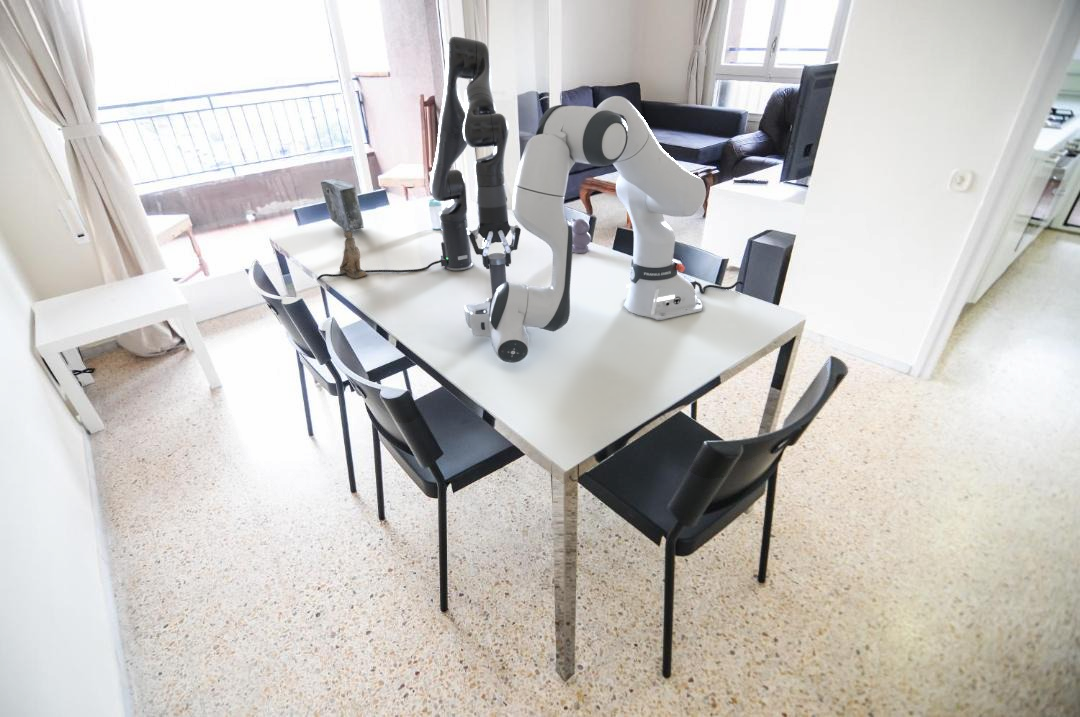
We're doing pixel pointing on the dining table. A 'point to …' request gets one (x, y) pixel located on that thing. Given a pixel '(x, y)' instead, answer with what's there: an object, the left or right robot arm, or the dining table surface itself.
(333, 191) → the concrete block
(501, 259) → the lid
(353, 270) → the worn brown figurine
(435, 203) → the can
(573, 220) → the cat figurine
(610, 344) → the dining table surface
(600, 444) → the dining table surface
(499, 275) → the grey cylinder
